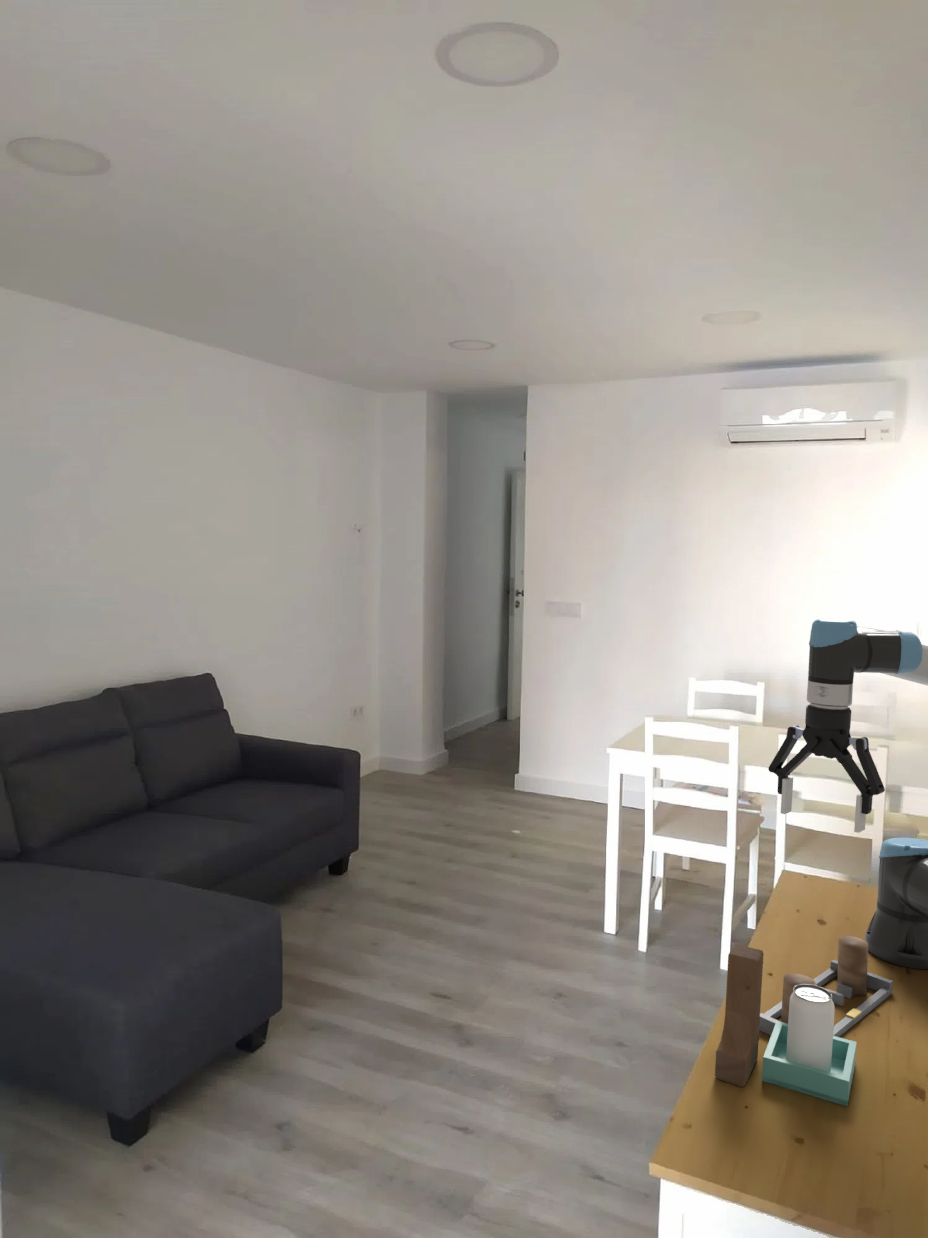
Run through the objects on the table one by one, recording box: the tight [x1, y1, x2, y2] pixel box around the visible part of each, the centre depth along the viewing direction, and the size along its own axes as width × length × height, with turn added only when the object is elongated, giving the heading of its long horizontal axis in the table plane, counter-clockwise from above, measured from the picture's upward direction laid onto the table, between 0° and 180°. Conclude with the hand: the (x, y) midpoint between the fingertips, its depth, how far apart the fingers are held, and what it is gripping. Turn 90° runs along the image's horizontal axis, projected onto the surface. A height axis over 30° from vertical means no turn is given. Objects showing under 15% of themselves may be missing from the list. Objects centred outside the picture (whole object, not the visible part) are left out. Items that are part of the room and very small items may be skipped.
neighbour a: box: [836, 935, 869, 997], centre depth 164 cm, size 5×5×9 cm
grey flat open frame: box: [759, 959, 894, 1038], centre depth 157 cm, size 30×11×2 cm, turn 133°
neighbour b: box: [780, 973, 816, 1024], centre depth 149 cm, size 5×5×9 cm
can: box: [786, 984, 835, 1072], centre depth 137 cm, size 6×6×12 cm
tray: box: [761, 1020, 858, 1107], centre depth 138 cm, size 12×12×4 cm
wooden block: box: [714, 944, 764, 1088], centre depth 137 cm, size 9×4×18 cm, turn 149°
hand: (821, 821), depth 161 cm, fingers open, 13 cm apart
